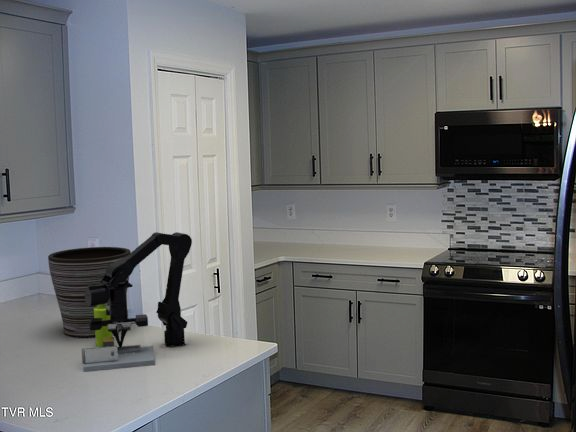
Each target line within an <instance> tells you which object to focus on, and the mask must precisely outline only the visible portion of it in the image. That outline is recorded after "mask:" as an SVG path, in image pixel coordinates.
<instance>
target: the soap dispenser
mask: <svg viewBox="0 0 576 432" xmlns="http://www.w3.org/2000/svg"><path fill="white" fill-rule="evenodd" d="M106 306H107V303H106V304H102V305H97V308H94V318H102V319H103V320H110V315H106ZM95 336H96V338H95V346H96V347H103V338H107V337H114V335H113V334H112V332H109V331H108V326H102V328H101V329H100V330H95Z"/></svg>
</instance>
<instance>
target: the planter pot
mask: <svg viewBox="0 0 576 432" xmlns="http://www.w3.org/2000/svg"><path fill="white" fill-rule="evenodd" d="M131 252H132V251H131V249H129V248H125V247H118V246H96V247H94V246H91V247H79V248H78V247H77V248H72V249H64V250H59V251H56V252H52V253H50V254H49V255H48V257H47V260H48V261H47V262H48V268H49V269H48V270H49V273H50V279H51V282H52V286H53V289H54V294H55V297H56V300H57V303H58V308H59V312H60V316H61V321H62V326H63V334H64V336H66V337H69V338H73V339H94V338H95V339H96V336H95V330H92V331H91V330H90V320H91V319H92V318H94V308H97V305H96V306H90V307H88V306H87V304H86V301H85V293H86V290H87V286H88V285H98V284H100V281H101V280H102V278H103V277H104V275H105V273H106V268H107V267H108V266H109V265H110V264H112V263H114V262H115V261H117V260H120V259H122V258H124V257H126V256H128V255H129V254H130V253H131ZM126 280H127V281H128V282H129V280H130V276H129V277H128V278H127V279H126ZM110 282H111V280H110ZM129 283H130V282H129ZM126 290H127V291H128V288H126ZM107 306H110V305H109V302H107ZM113 323H117V322H113ZM117 326H118V333H121V328H122V325H117Z"/></svg>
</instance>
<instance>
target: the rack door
mask: <svg viewBox="0 0 576 432" xmlns="http://www.w3.org/2000/svg"><path fill="white" fill-rule="evenodd" d="M117 347H118V345H114V346H108V347H99V346H96V347H88V348H86V347H85V356H86V363H93V362H104V361H114V360H118V351H117Z"/></svg>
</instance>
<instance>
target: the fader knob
mask: <svg viewBox="0 0 576 432" xmlns="http://www.w3.org/2000/svg"><path fill="white" fill-rule="evenodd" d="M108 346H115V337H114V336H113V337H107V338H103V347H108Z"/></svg>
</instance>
